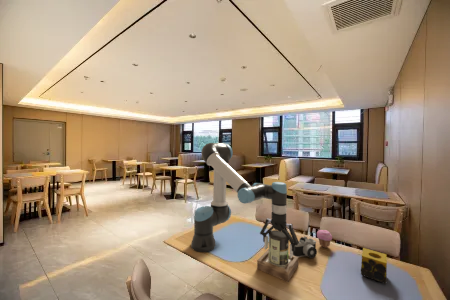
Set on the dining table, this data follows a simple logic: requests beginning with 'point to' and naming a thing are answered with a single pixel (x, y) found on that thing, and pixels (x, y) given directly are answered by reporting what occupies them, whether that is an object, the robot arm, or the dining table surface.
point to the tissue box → (374, 265)
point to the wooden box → (277, 267)
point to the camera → (305, 248)
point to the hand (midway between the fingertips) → (278, 252)
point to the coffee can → (278, 248)
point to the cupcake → (324, 238)
